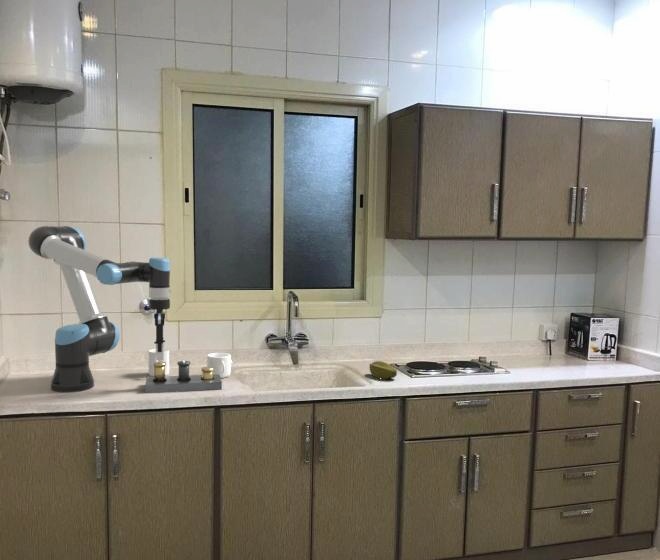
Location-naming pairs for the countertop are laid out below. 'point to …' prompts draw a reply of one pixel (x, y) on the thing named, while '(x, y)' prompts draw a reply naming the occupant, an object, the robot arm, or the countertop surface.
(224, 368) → the mug
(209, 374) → the knob far
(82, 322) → the robot arm
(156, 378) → the knob near
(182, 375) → the knob mid
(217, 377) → the mount plate
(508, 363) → the countertop surface
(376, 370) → the fruit
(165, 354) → the mug
